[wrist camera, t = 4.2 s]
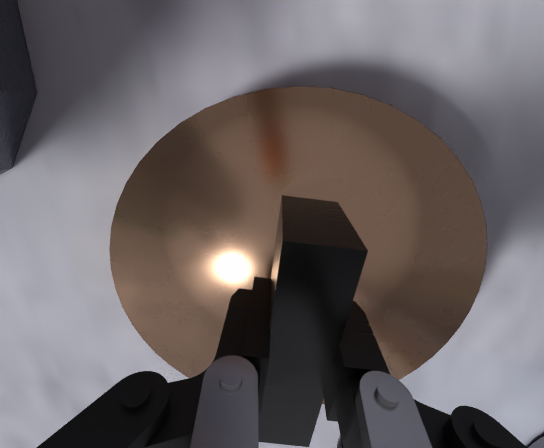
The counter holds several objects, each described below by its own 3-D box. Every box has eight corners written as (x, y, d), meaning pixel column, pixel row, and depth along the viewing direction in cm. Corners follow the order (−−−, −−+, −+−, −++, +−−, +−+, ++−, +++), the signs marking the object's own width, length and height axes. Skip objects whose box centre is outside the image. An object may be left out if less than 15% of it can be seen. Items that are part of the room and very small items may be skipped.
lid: (523, 117, 10) (767, 126, 5) (397, 386, 16) (450, 511, 11) (113, 64, 9) (-66, 17, 5) (145, 359, 15) (83, 475, 11)
